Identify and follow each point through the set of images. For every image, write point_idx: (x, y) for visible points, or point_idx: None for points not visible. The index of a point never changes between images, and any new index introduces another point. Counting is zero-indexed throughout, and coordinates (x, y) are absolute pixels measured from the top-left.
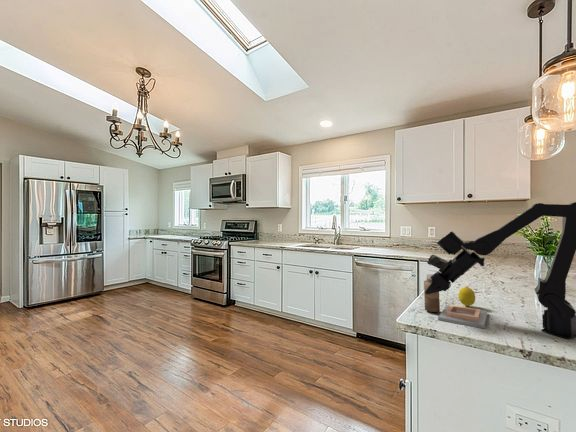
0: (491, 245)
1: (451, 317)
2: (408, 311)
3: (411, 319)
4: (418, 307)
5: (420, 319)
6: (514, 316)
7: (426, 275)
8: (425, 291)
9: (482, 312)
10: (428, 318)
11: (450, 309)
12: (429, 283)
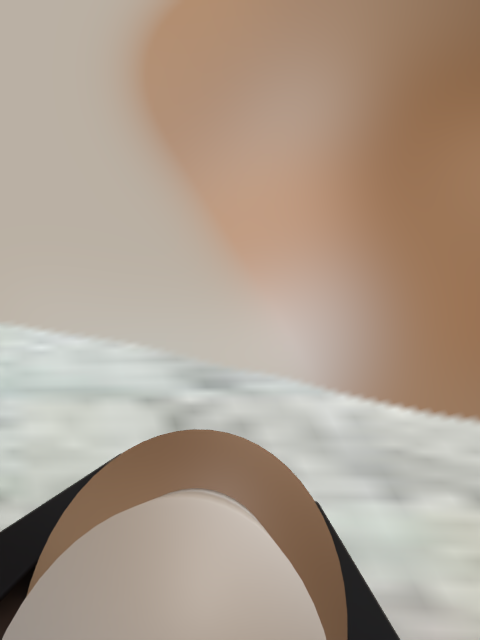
0: None
1: None
2: (171, 355)
3: (21, 375)
4: (277, 412)
5: (26, 427)
6: None
7: (172, 497)
8: (111, 460)
9: None
10: (52, 480)
11: None
12: (48, 549)
